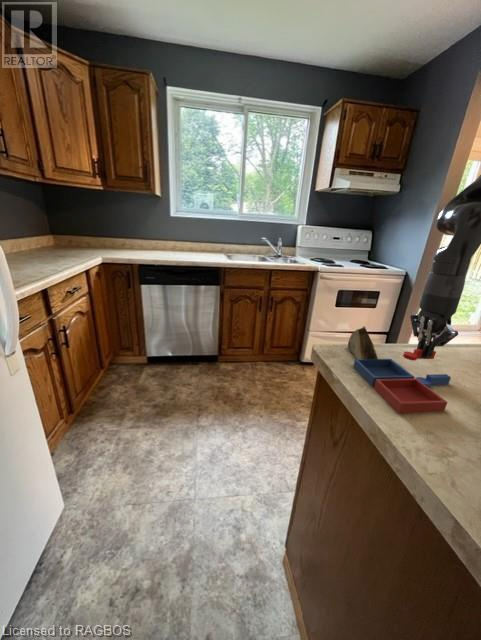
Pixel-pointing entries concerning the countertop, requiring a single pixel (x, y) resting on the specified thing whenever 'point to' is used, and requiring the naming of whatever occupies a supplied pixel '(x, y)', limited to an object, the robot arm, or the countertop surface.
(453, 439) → the countertop surface
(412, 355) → the red spoon
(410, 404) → the red tray
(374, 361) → the blue tray
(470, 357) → the countertop surface
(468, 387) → the countertop surface
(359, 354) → the rock
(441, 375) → the blue spoon
